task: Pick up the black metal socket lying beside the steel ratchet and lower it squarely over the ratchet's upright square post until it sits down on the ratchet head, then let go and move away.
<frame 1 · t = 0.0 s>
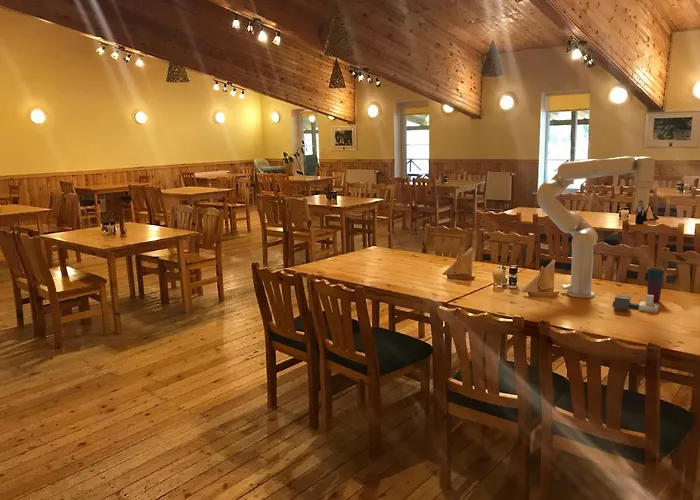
hand: (640, 222, 265), 37 cm above the table, tool pointing down, fingers open, 9 cm apart
ratchet: (648, 309, 259), on the table
socket: (621, 310, 259), on the table
cup: (653, 300, 273), on the table
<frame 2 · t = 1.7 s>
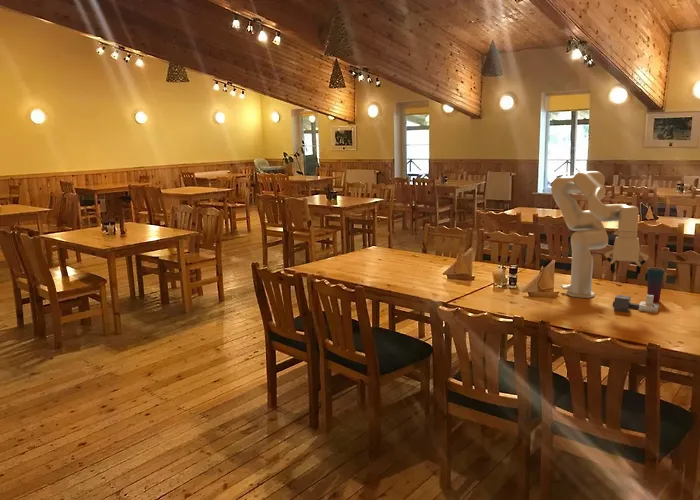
hand: (625, 273, 256), 17 cm above the table, tool pointing down, fingers open, 9 cm apart
nothing on the table moved.
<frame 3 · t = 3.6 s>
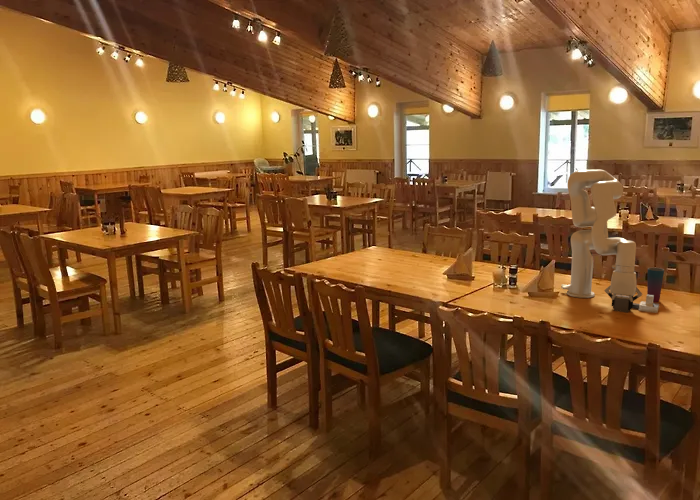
hand: (621, 308, 259), 1 cm above the table, tool pointing down, fingers closed on socket, 5 cm apart
socket: (621, 310, 259), on the table, touching gripper
everything else where it was.
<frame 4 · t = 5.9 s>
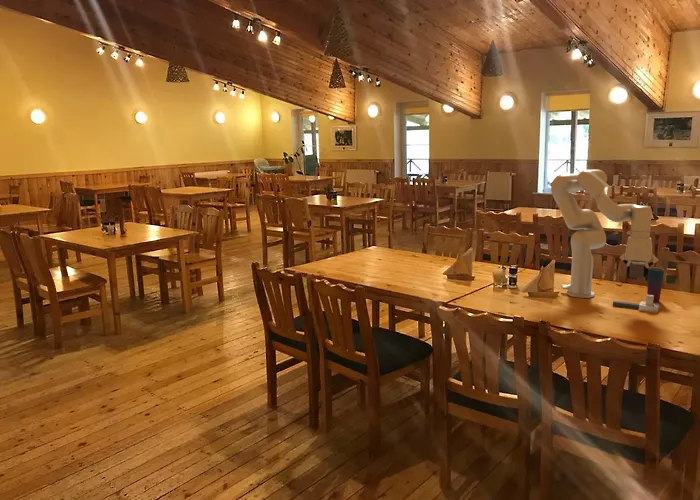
hand: (637, 275, 256), 16 cm above the table, tool pointing down, fingers closed on socket, 5 cm apart
socket: (637, 276, 256), point 15 cm above the table, touching gripper
everything else where it was.
when the fingers open (4 cm above the table, at t = 8.6 s): socket stays where it is, resting on ratchet.
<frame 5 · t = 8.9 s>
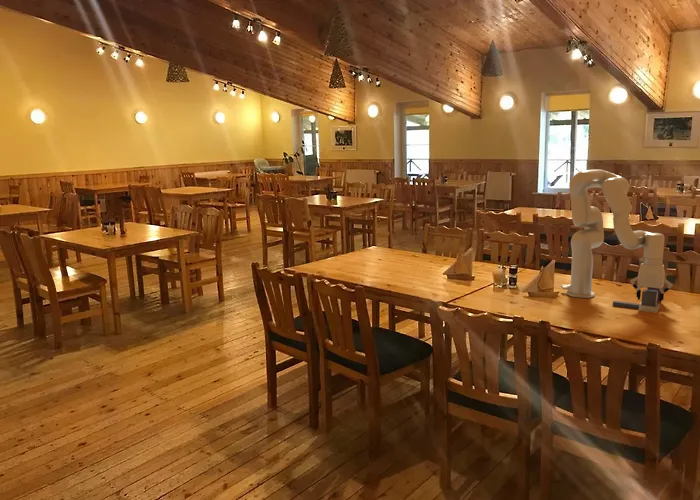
hand: (649, 300, 259), 4 cm above the table, tool pointing down, fingers open, 8 cm apart
ratchet: (648, 309, 259), on the table, touching socket
socket: (649, 304, 259), point 2 cm above the table, touching ratchet
everything else where it was.
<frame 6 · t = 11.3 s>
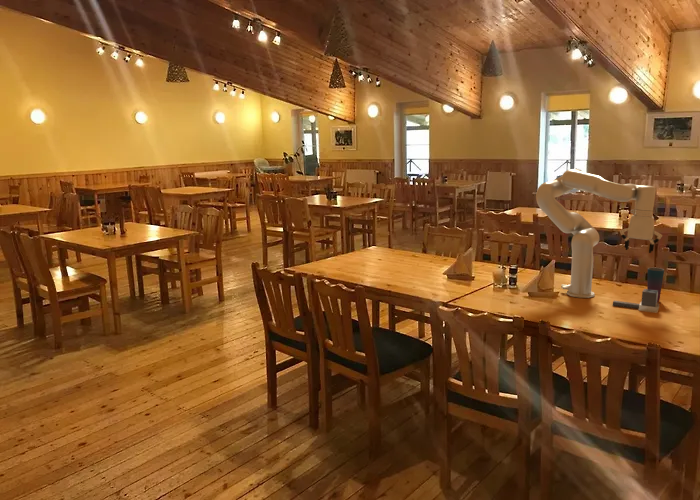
hand: (638, 250, 266), 24 cm above the table, tool pointing down, fingers open, 9 cm apart
nothing on the table moved.
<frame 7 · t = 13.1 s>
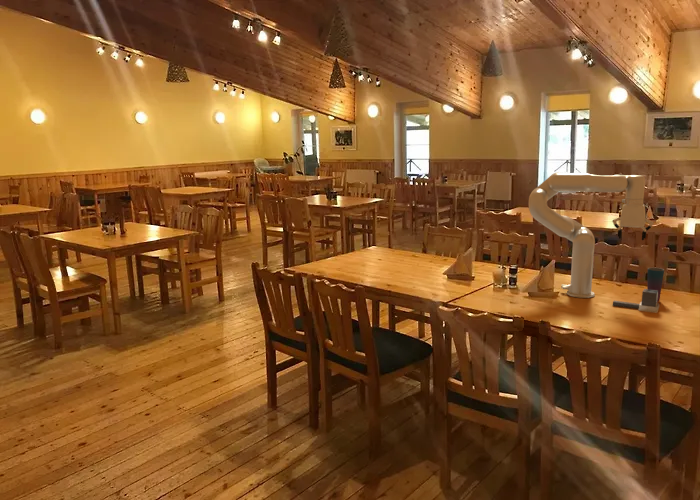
hand: (631, 239, 273), 28 cm above the table, tool pointing down, fingers open, 9 cm apart
nothing on the table moved.
at the end: socket 0.0 cm off-centre on the ratchet, point 2.5 cm above the ratchet's base; socket tilted 0°; ratchet moved 0.1 cm from its start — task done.
